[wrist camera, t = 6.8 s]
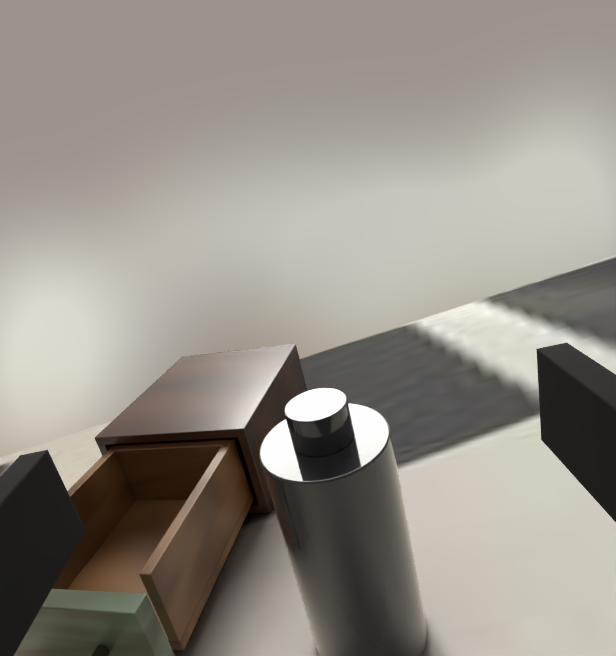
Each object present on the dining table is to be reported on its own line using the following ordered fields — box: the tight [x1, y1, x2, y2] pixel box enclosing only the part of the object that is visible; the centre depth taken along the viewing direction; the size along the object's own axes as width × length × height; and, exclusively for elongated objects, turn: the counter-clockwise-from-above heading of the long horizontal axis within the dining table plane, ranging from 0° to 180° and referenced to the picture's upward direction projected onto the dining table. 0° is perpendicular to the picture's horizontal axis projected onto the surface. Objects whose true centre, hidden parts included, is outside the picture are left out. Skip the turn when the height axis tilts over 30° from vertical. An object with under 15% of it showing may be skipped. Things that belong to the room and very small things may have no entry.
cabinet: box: [95, 344, 307, 513], centre depth 48 cm, size 17×15×9 cm
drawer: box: [14, 439, 253, 656], centre depth 32 cm, size 20×13×7 cm
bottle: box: [259, 388, 427, 656], centre depth 26 cm, size 7×7×16 cm
